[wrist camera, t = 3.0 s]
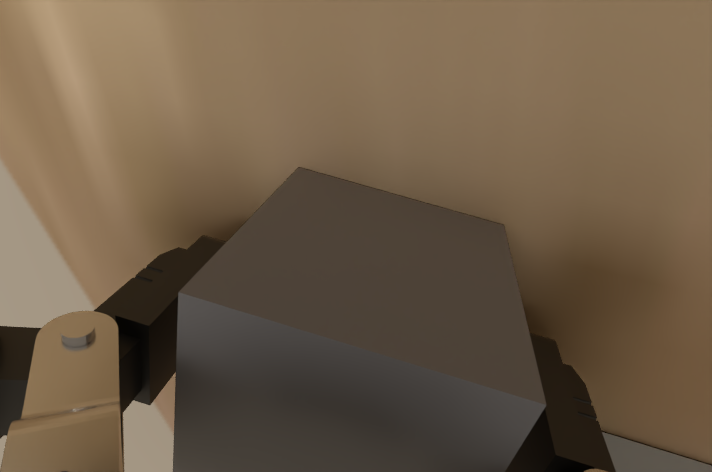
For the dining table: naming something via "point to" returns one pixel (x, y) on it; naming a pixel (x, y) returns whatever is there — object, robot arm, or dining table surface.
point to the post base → (648, 458)
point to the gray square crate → (354, 340)
